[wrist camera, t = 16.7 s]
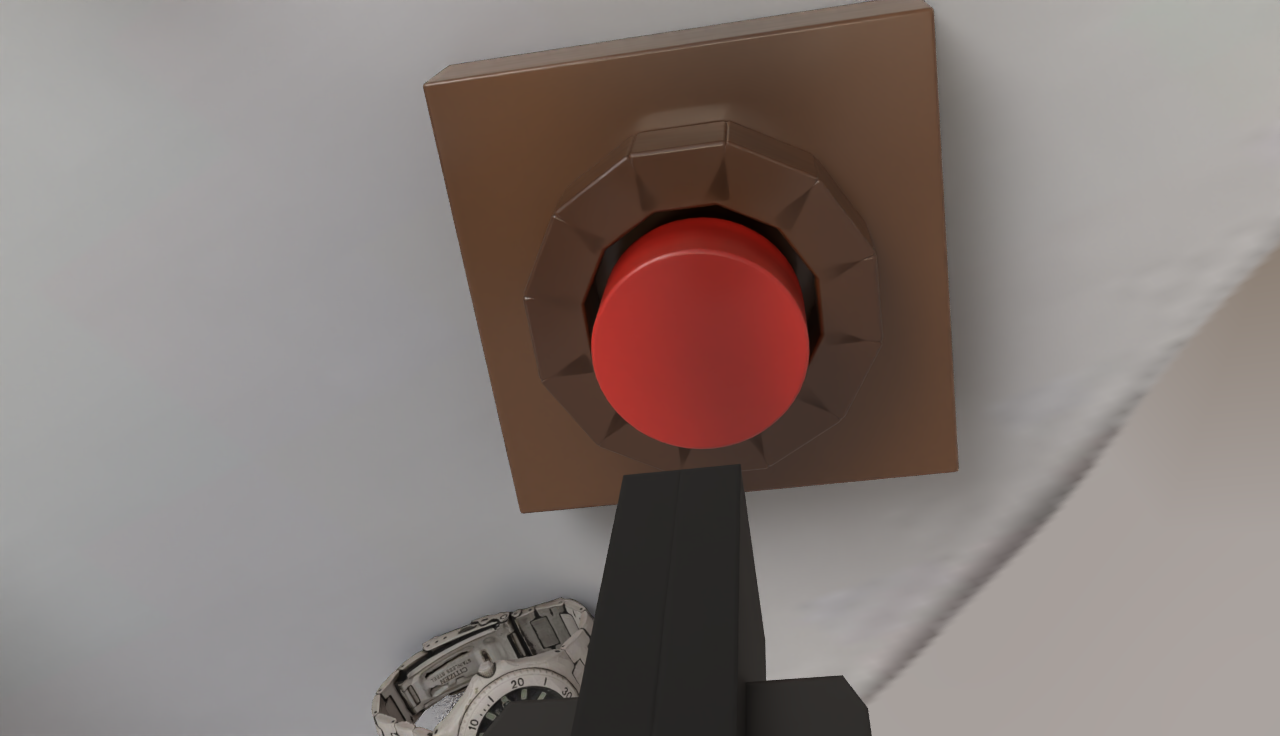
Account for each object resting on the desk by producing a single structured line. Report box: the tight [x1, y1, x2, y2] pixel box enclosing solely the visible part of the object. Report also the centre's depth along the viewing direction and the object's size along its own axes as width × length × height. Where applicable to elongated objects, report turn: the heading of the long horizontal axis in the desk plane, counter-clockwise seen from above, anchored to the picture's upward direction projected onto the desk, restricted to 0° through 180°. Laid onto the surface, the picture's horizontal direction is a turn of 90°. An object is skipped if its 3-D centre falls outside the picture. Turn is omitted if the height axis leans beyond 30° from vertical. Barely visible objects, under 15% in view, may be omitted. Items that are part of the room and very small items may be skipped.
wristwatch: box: [371, 597, 594, 736], centre depth 29 cm, size 4×6×5 cm, turn 112°
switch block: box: [423, 0, 959, 513], centre depth 24 cm, size 10×10×4 cm
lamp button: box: [591, 217, 810, 449], centre depth 22 cm, size 4×4×2 cm
